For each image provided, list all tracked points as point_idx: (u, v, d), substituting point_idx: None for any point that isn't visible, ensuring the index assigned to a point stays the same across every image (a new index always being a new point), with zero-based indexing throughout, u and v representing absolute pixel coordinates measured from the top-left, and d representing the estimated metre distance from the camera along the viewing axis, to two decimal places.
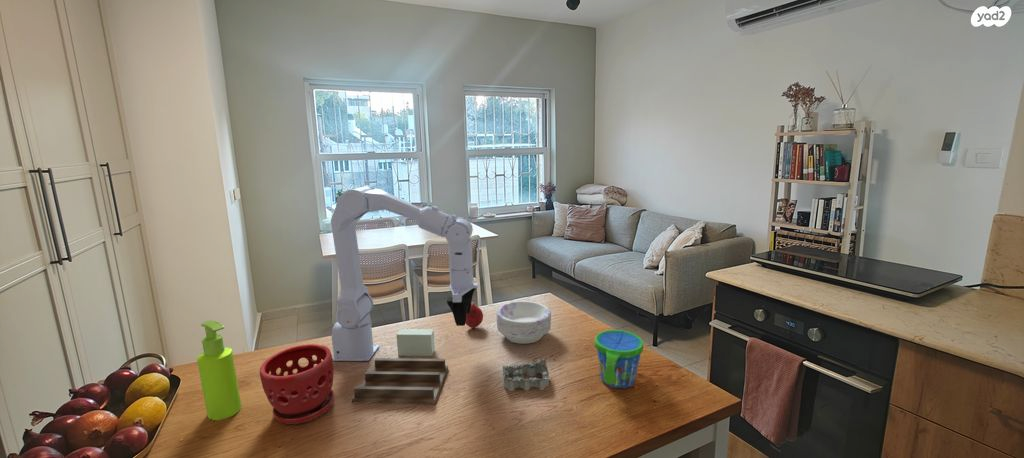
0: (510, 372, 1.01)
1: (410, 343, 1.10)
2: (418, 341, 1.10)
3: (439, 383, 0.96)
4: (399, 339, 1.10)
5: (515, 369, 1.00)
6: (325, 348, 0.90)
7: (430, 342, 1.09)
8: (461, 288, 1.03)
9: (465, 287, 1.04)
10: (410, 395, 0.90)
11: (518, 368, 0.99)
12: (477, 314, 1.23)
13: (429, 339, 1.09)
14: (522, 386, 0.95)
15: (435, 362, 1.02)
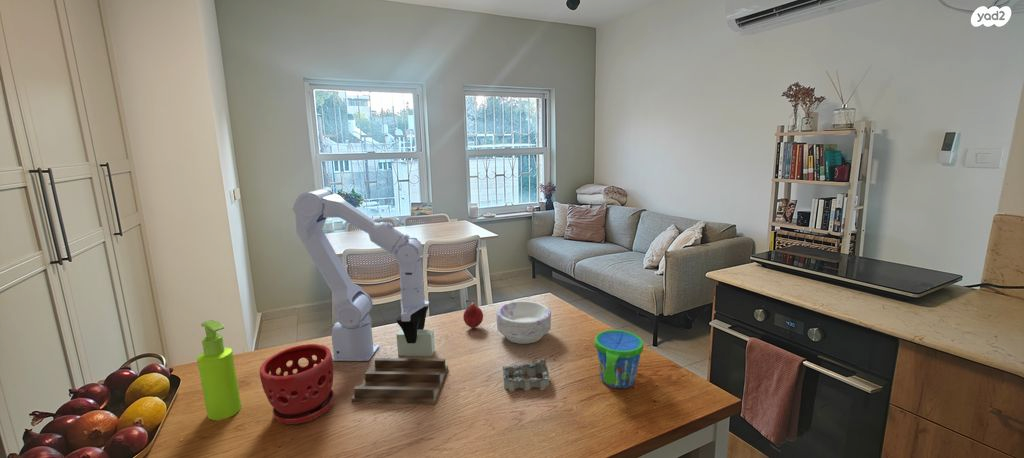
0: (510, 373, 1.01)
1: (410, 343, 1.10)
2: (418, 341, 1.10)
3: (439, 383, 0.96)
4: (399, 339, 1.10)
5: (515, 369, 0.99)
6: (325, 348, 0.90)
7: (430, 342, 1.09)
8: (411, 307, 1.06)
9: (415, 306, 1.06)
10: (410, 395, 0.90)
11: (518, 368, 0.99)
12: (477, 314, 1.23)
13: (429, 339, 1.09)
14: (522, 386, 0.95)
15: (435, 362, 1.02)
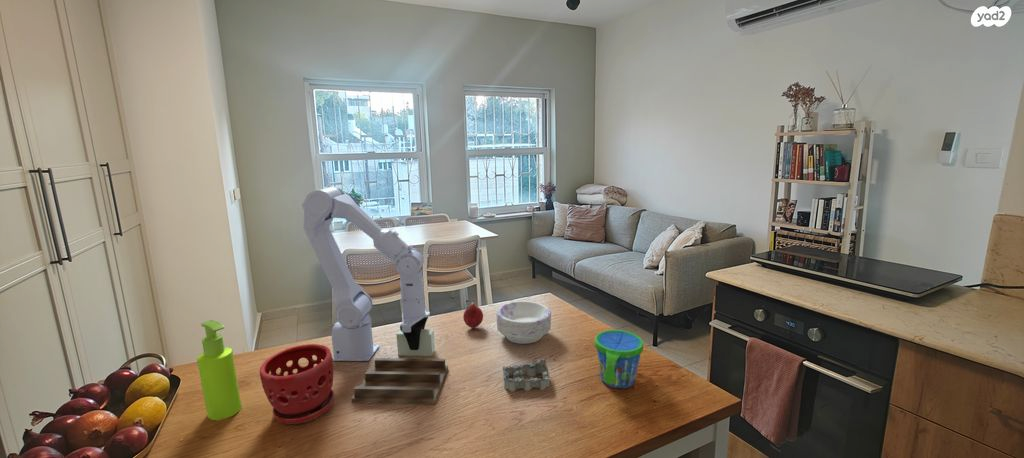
0: (510, 373, 1.00)
1: None
2: None
3: (439, 383, 0.96)
4: (399, 339, 1.10)
5: (515, 370, 0.99)
6: (325, 348, 0.90)
7: (430, 342, 1.09)
8: (412, 318, 1.07)
9: (416, 316, 1.07)
10: (410, 395, 0.90)
11: (518, 368, 0.99)
12: (477, 314, 1.23)
13: (429, 339, 1.09)
14: (523, 386, 0.95)
15: (435, 362, 1.02)
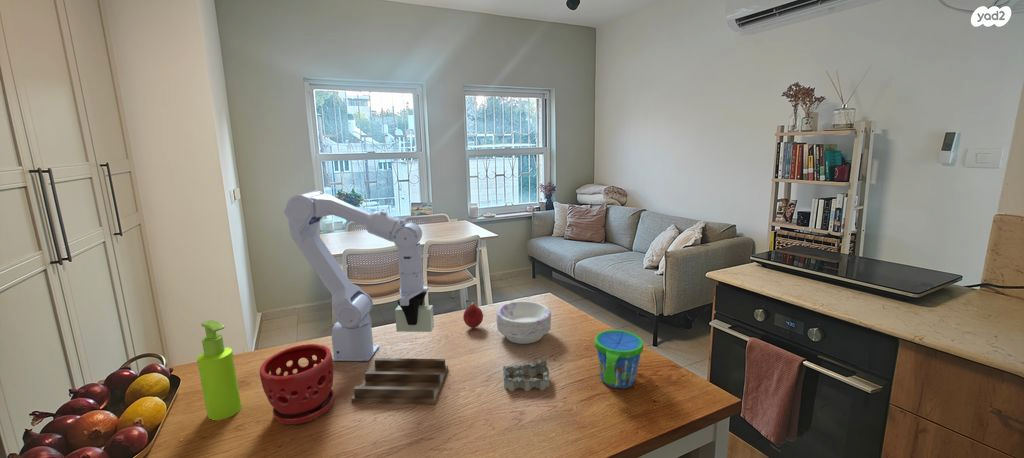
0: (511, 373, 1.01)
1: None
2: None
3: (439, 383, 0.96)
4: (398, 314, 1.08)
5: (516, 369, 0.99)
6: (325, 348, 0.90)
7: (429, 317, 1.08)
8: (410, 291, 1.05)
9: (414, 290, 1.05)
10: (410, 395, 0.90)
11: (519, 368, 0.99)
12: (476, 314, 1.23)
13: (428, 314, 1.08)
14: (522, 386, 0.95)
15: (435, 362, 1.02)
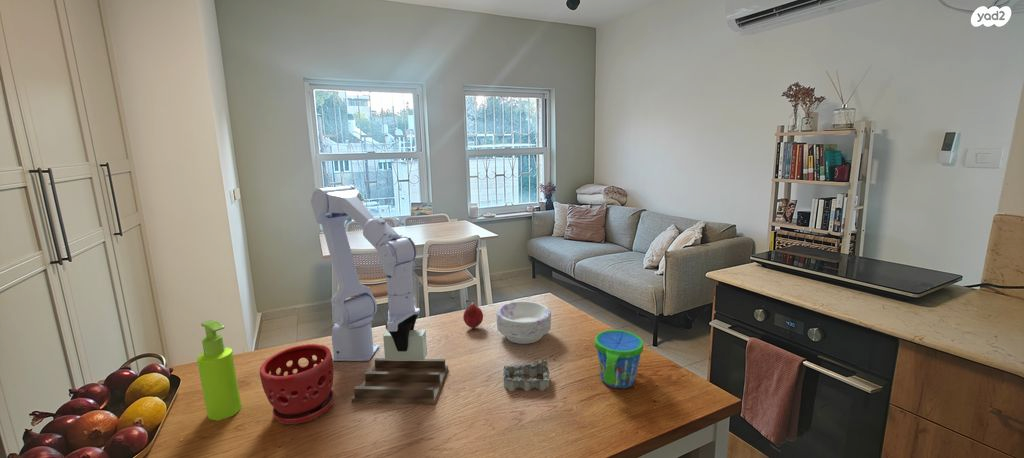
0: (512, 372, 1.01)
1: None
2: (408, 343, 0.97)
3: (439, 383, 0.96)
4: (386, 341, 0.97)
5: (516, 369, 1.00)
6: (325, 348, 0.90)
7: (421, 344, 0.97)
8: (399, 315, 0.94)
9: (404, 313, 0.94)
10: (410, 395, 0.90)
11: (519, 368, 0.99)
12: (476, 314, 1.23)
13: (420, 341, 0.96)
14: (522, 386, 0.95)
15: (435, 362, 1.02)
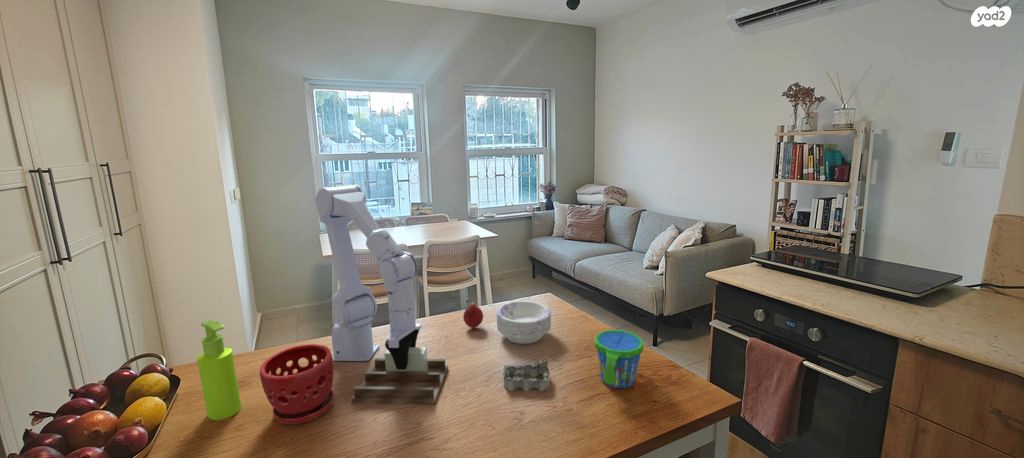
0: (512, 372, 1.01)
1: None
2: (409, 361, 0.98)
3: (439, 383, 0.96)
4: (387, 358, 0.98)
5: (517, 369, 1.00)
6: (325, 348, 0.90)
7: (422, 362, 0.97)
8: (400, 330, 0.94)
9: (405, 329, 0.95)
10: (410, 395, 0.90)
11: (520, 368, 0.99)
12: (476, 314, 1.23)
13: (421, 359, 0.97)
14: (522, 386, 0.95)
15: (435, 362, 1.02)
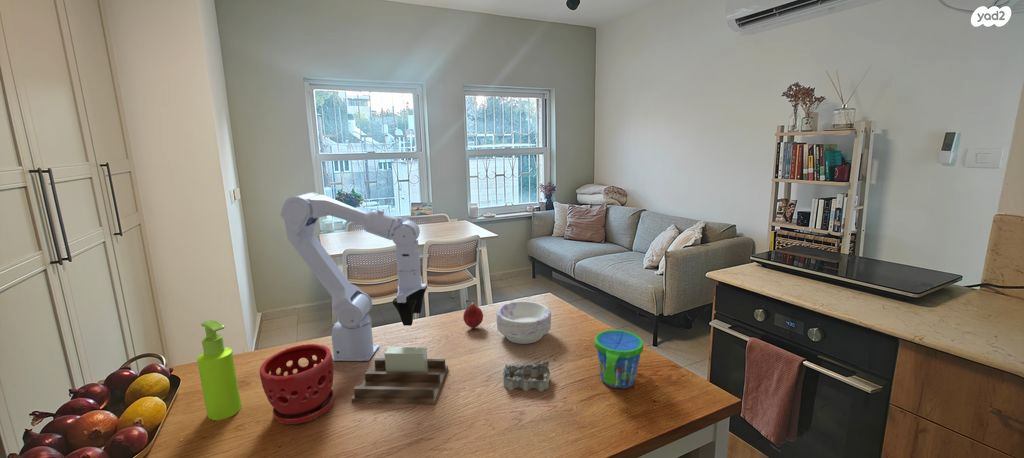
0: (513, 372, 1.01)
1: (399, 363, 0.98)
2: (409, 361, 0.98)
3: (439, 383, 0.96)
4: (387, 358, 0.98)
5: (517, 369, 1.00)
6: (325, 348, 0.90)
7: (422, 362, 0.97)
8: (407, 289, 1.06)
9: (412, 288, 1.06)
10: (410, 395, 0.90)
11: (520, 368, 0.99)
12: (476, 314, 1.23)
13: (421, 359, 0.97)
14: (521, 386, 0.95)
15: (435, 362, 1.02)
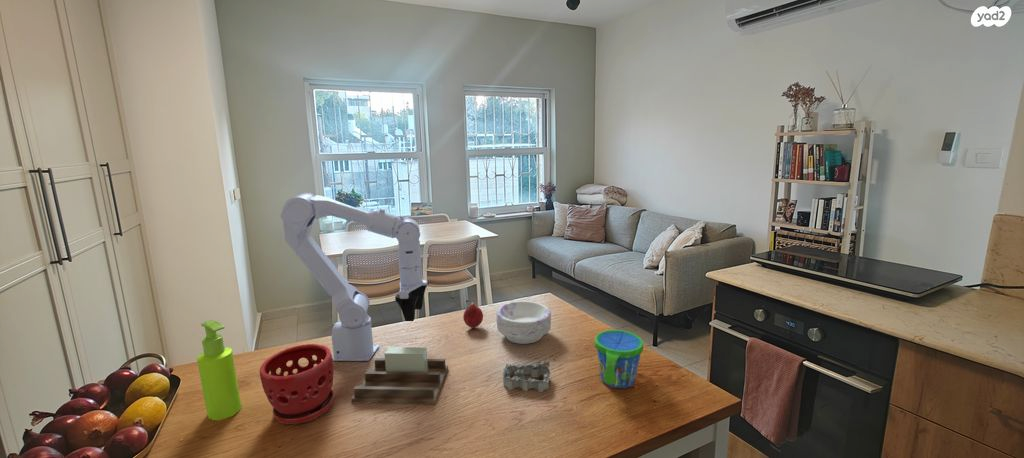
0: (514, 371, 1.01)
1: (399, 363, 0.98)
2: (409, 361, 0.98)
3: (439, 383, 0.96)
4: (387, 358, 0.98)
5: (518, 369, 1.00)
6: (325, 348, 0.90)
7: (422, 362, 0.97)
8: (409, 285, 1.08)
9: (413, 284, 1.08)
10: (410, 395, 0.90)
11: (521, 368, 0.99)
12: (476, 314, 1.23)
13: (421, 359, 0.97)
14: (521, 386, 0.95)
15: (435, 362, 1.02)
